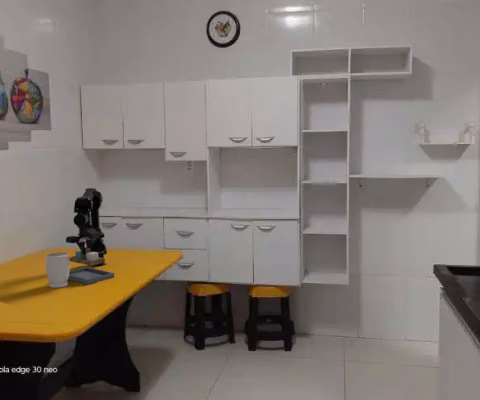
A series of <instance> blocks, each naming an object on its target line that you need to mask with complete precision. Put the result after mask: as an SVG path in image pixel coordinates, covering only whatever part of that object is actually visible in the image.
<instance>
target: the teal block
mask: <svg viewBox="0 0 480 400" xmlns="http://www.w3.org/2000/svg"><path fill="white" fill-rule="evenodd" d="M74 256H76V258H78V259H83V253H82V252H81V250H80V249H79V250H76V251H75V254H74Z"/></svg>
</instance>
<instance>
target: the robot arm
mask: <svg viewBox="0 0 480 400" xmlns="http://www.w3.org/2000/svg"><path fill="white" fill-rule="evenodd" d="M102 203H103V195H102V192H100V191H98V190H97V189H96V188H95V187H88V188H85V191H84V193H83V195H82V196H78V197H77V198H76V200H74V206H73V213H75V214H76V215H75V216H74V217H73V224H74V225H75V226H76V227H77V229H78V233H77V235H70V236H66V238H65V243H69V244H76V245H77V247H78V248H79V250H81V252H82V253H83V255H85V247H88V248H90V252H98V257H99V258H105V255H107V254H108V250H107V245H106V244H105V243H104V239H103V238H105V233H104V231H102V228H101V227H100V226H101V225H100V223H101V221H100V209H101V206H102ZM106 265H108V264H107V263H101V264H97V265H92V267H95V268H96V267H97V268H99V267H102V266H106Z"/></svg>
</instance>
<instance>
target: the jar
mask: <svg viewBox="0 0 480 400" xmlns="http://www.w3.org/2000/svg"><path fill="white" fill-rule="evenodd" d="M69 257H70V253H69V252H54V253H52V252H51V253H48V254H45V256H44V258H45V259H46V262H45V272H46V275H47V276H46V277H47V279H48V282H49V287H50V288H52V289H57V288H58V289H59V288H65V287H67V286H68V285H69V282H68V281H69V280H68V278H69V271H71V269H70V268H71V265H70V261H69Z"/></svg>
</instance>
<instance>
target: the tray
mask: <svg viewBox="0 0 480 400" xmlns="http://www.w3.org/2000/svg"><path fill="white" fill-rule="evenodd" d="M113 278H115V272H111V271H107V270H103V269H98V268H94V267H89V266H85V267H81V268H78V269H72V270H69V278H68V280H67V281H70V282H75V283H78V284H82V285H86V286H89V285H93V284H97V283H98V282H102V281H107V280H110V279H113Z"/></svg>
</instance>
